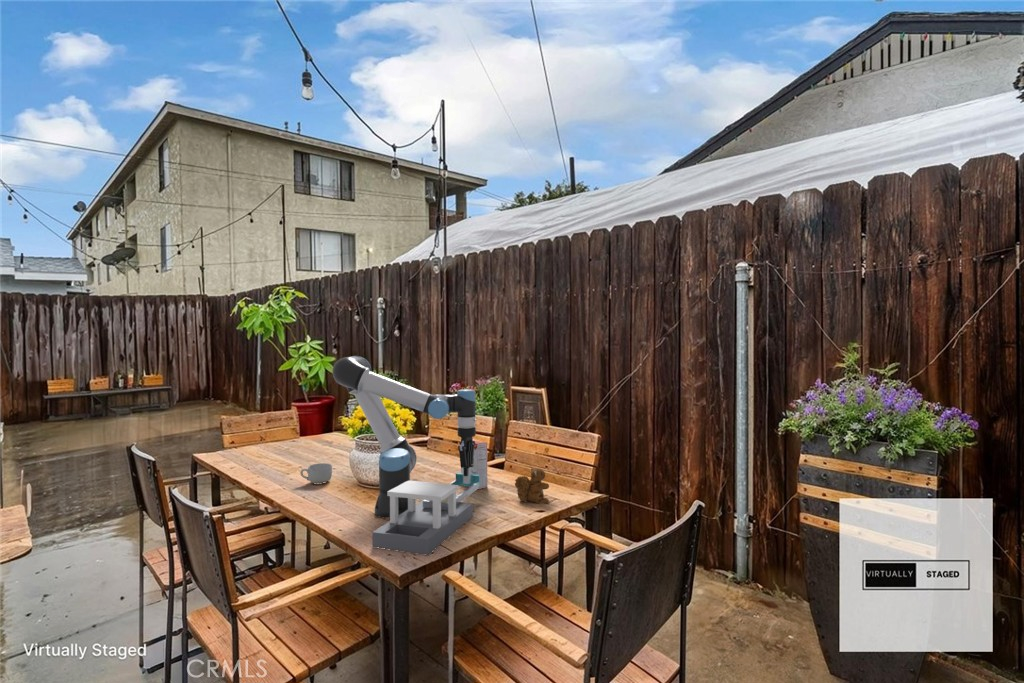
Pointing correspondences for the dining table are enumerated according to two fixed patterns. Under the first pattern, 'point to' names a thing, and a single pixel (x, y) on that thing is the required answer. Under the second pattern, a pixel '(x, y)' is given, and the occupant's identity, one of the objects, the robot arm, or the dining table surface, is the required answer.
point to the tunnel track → (421, 518)
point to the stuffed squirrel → (532, 487)
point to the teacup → (318, 472)
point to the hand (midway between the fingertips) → (467, 483)
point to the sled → (459, 481)
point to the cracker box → (480, 462)
